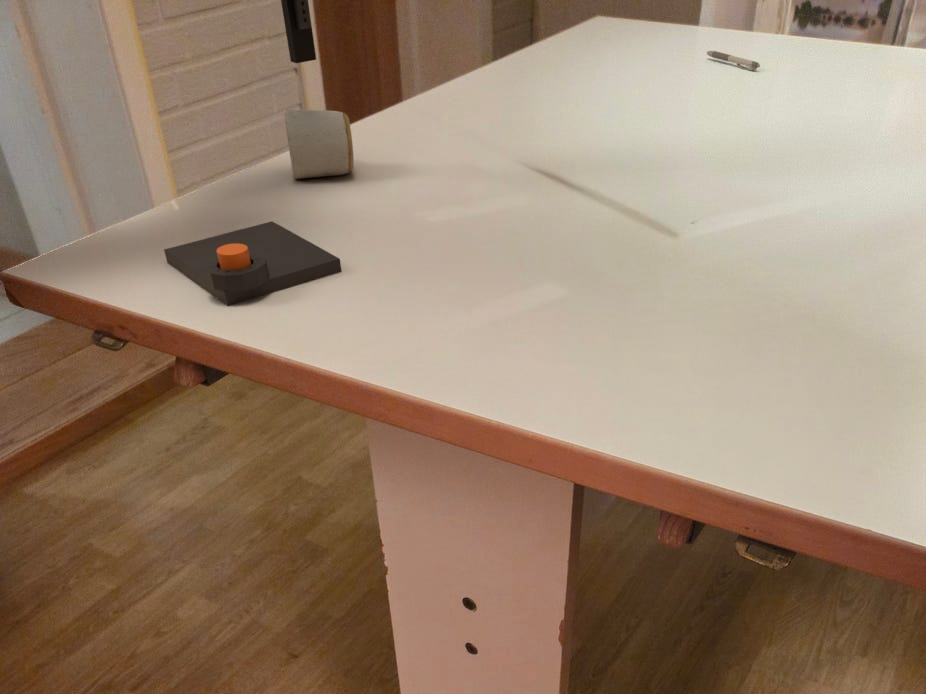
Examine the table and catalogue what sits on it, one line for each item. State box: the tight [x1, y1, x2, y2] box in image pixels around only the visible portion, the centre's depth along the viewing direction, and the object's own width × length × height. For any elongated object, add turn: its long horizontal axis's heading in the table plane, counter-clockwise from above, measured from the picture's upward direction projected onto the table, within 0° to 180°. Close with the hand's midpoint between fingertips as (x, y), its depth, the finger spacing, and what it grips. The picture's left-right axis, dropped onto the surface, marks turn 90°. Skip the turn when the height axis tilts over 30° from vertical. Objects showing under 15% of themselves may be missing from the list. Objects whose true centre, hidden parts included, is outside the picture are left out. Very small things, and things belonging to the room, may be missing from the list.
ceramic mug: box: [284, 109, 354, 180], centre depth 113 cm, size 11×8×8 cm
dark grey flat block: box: [163, 220, 342, 307], centre depth 91 cm, size 16×14×3 cm
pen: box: [706, 50, 761, 71], centre depth 153 cm, size 1×14×1 cm, turn 28°
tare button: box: [217, 243, 251, 271], centre depth 85 cm, size 3×3×2 cm
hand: (303, 60), depth 105 cm, fingers closed
